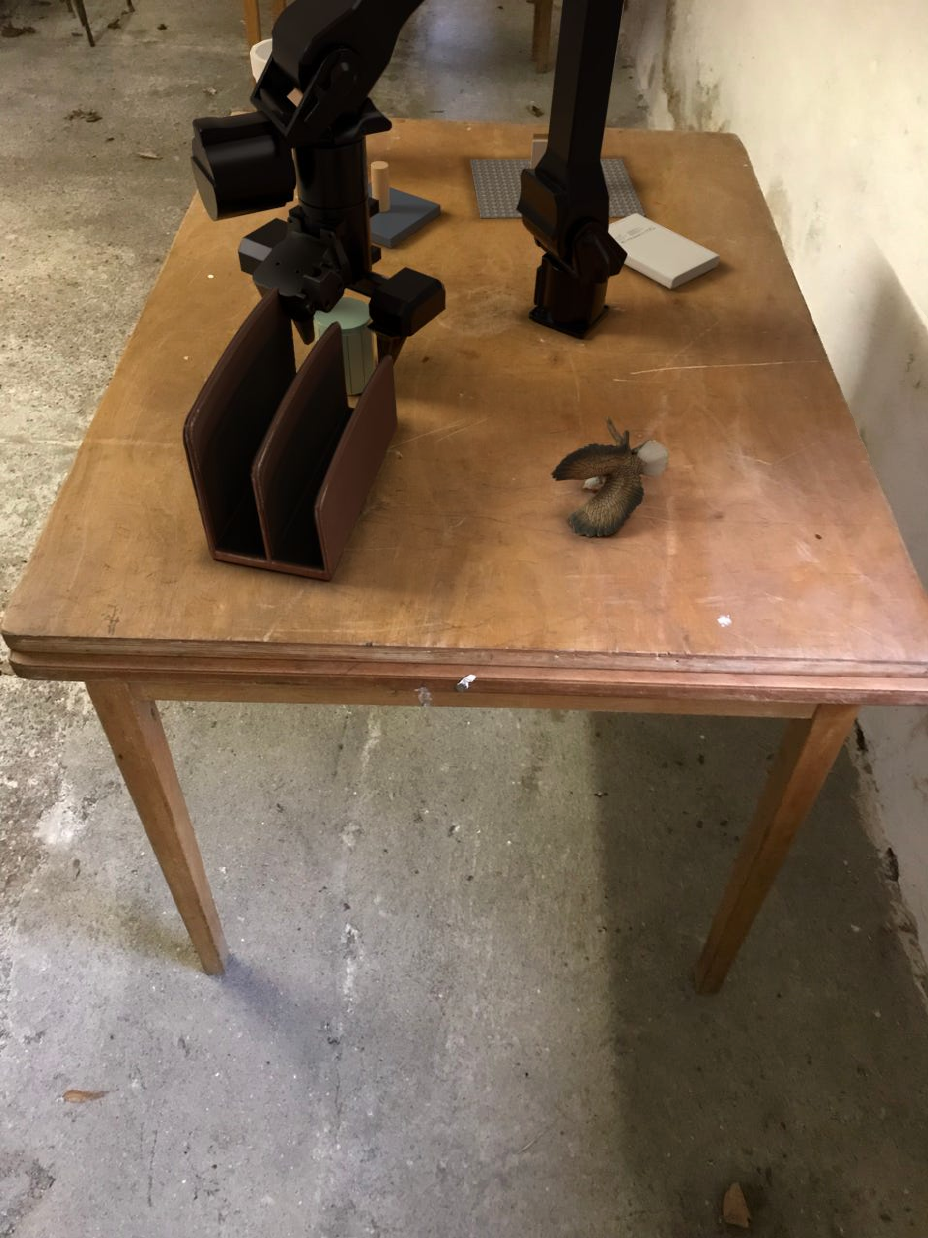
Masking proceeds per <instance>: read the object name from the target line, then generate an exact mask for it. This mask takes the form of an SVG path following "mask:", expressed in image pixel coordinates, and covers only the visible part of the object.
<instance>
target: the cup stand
mask: <svg viewBox="0 0 928 1238" xmlns="http://www.w3.org/2000/svg"><path fill="white" fill-rule="evenodd" d="M370 176H371V182H368V188H369V197H371V198H374V199H377V200H379V213H378V214H376V215H374V216H373V217H371V218H370V227H371V243H375V244H377V245H381V246H383V247H385V248H389V249H393V248H394V247H396V246H397V245H399V244H400V243H401V242H402V241H404V240H406V239H407V238H409V237H410V236H412V235H413V234H415V233H416V232H417V231H419V230H420V229H422V228H424V226H426V225H427V224H429V223H430V222H432V221H433V220H435V219H436V218H437V217H439V216H440V215H441V214H442V213H441V211H442V210H441V207H442V206H441V204H440V203H437V202H434V201H431V200H428V199H425V198H422V197H419V196H417V195H414V194H411V193H409V192H406V191H403V190H400V189H397V188H395V187H391V186H390V168H389V163H388V162H386V161H382V160H377V161H373V162H371V164H370Z"/></svg>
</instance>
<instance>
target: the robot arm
mask: <svg viewBox="0 0 928 1238" xmlns="http://www.w3.org/2000/svg"><path fill="white" fill-rule="evenodd" d="M425 1H426V0H294V1H293V2H291V3H290V4H289V5H287V6H286V7H285V8H284V9H283V10H282V11H281V13H280V14H279V15H278V17H277V19H276V20H275V22H274V24H273V27H272V29H271V34H270V35H271V39H272V52H271V54H270V56H269V58H268V61H267V63H266V65H265V67H264V69H263V71H262V73H261V75H260V77H259V80H258V82H256V83H255V86H254V89H253V90H252V92H251V95H250V96H249V102H250V104H251V105H252V106H253V107H254V109H255V110H256V111H251V112H246V113H240V114H239V113H238V114H233V115H228V116H221V117H220V116H219V117H218V116H217V117H216V116H205V117H199V118H195V119H193V120H192V122H191V124H192V129H193V138H192V140H191V153H192V154H191V156H190V157H189V158H190V165H191V169H192V173H193V177H194V181H195V184H196V187H197V190H198V191H197V192H198V194H199V197H200V199H201V202H202V204H203V207H204V209H205V211H206V213H207V215H208V217H209V218H210V219H211V221H213V222H219V221H224V220H229V219H233V218H238V217H242V216H247V215H252V214H258V213H261V212H267V211H270V210H275V209H281V208H285V207H286V206H287V204H288V203H292V202H294V199H295V190H296V193H297V203H298V204H297V205H295V206H293V207H292V208H290V209H288V216H287V218H286V220H284V219H281V218H278V217H275V218H273V219H272V220H270V221H268V222H266V223H265V224H263V225H262V226H259V227H258V228H256V229H254V230H253V231H251V232H250V233H247V234H246V235H244V236H243V237H242V239H241V240H240V243H239V244H238V248H237V254H238V261H239V265H240V267H239V268H240V272H242V273H245V274H248V275H250V276H252V277H251V279H252V282H253V284H254V285H255V288H256V289H257V292H258V293H259V296H260V297H261V299H262V298H263V297H264V296H265V295H266V294H267V293H268V291H269V290H270V289H271V288H272V287H273V286H274V287H278V292H277V293H278V296H279V300H280V303H281V306H282V309H283V312H284V315H285V316H287V317H290V318H291V321H292V324H293V325H294V328H295V329H296V331H297V333H298V335H299V337H300V339H301V341H302V343H303V345H305V346H310V345H312V344H313V343H314V342H315V331H314V322H313V321H314V315H315V314H316V311H322V312H324V313H329V312H331V311H332V309H333V308H334V307H335V305H336V304H337V303H338V301H339V300H340V299H341V298H342V297H344V295H345V291H346V290H349V291H351V292H354V293H357V294H359V295H362V296H364V297H366V298H370V300H369V302H368V303H367V304H368V305H369V316H370V318H371V319H372V321H373V322H371V323H370V324H369V325H367V328H368V329H369V330H371V331H372V332H374V335H375V336H376V337H375V339H376V355H377V365H378V364H379V363H380V361H381V359H382V358H383V356H384V355H391V357H392V360H393V367H394V366H395V364H396V363H397V360H398V358H399V356H400V353H401V351H402V349H403V347H404V344H405V343H406V341H407V339H408V338H410V337H413V336H414V335H415V334H416V333H418V332H419V331H420V330H421V329H423V328H424V327H425V326H426V325H428V324H429V323H431V321H432V320H433V319H435V318H436V317H437V316H439V315H440V314H441V313H442V312H444V311H445V310H446V303H447V302H446V301H447V300H446V298H447V297H446V296H447V294H446V293H447V291H446V287H445V284H444V283H443V282H442V281H441V280H440V279H438V278H437V277H433V276H431V275H428V274H426V273H423V272H420V271H417V270H415V269H413V268H410V267H407V266H405V267H403V268H402V269H400V270H399V271H398V272H396V273H395V274H393V275H392V276H391V277H389V276H386V275H383V274H381V273H378V272H376V271H373V265H375V264H377V263H378V262H379V261H381V260H382V247H381V246H380V247H379V246H377V245H374V244H372V241H371V227H370V218H371V217H373V216H374V215H376V214H378V213H379V200H377V199H374V198H371V197H369V188H368V184H369V172H368V168H369V167H368V151H367V150H368V149H367V136H371V135H374V134H375V135H376V134H381V133H386V132H389V131H391V130H392V129H393V123H392V120H390V119H389V118H388V117H387V116H386V115H385V114H384V113H383V112H382V111H380V110H379V109H378V108H377V106H376V105H375V103H374V101H373V100H372V98H371V97H370V96H369V95H370V94H371V92H372V91H373V89H374V87H375V86H376V84H377V83H378V82H379V80H380V78H381V77H382V76H383V74H384V73H385V71H386V70H387V68H388V67H389V65H390V63H391V61H392V58H393V54H394V52H395V48H396V46H397V43H398V39H399V37H400V33H401V32H402V30H403V29H404V27H405V26H406V24H407V23H408V21H409V20H410V18H411V17H412V15H413V14H414V13H415V12H416V11H417V10H418V9H419V8H420V7H421V6H422V5H423V3H424V2H425ZM624 6H625V0H562V3H561V13H560V15H561V16H560V22H559V31H558V40H557V49H556V60H555V67H554V79H553V87H552V97H551V105H550V115H549V117H550V118H549V122H548V123H549V125H548V132H547V133H548V139H547V140H548V142H547V148H546V152H545V153H544V155H543V156H542V158H541V159H540V161H539V162H538V164H537V165H536V167H535V168H534V169H523V170H522V172H521V176H520V179H521V195H520V200H519V202H518V205H517V207H516V210H517V211H518V212H519V213H520V214H521V215H522V217H521V222H522V226H523V227H524V228H525V229H526V231H527V232H529V234H530V235H532V236H533V241H534V244H535V245H536V247H538V248H540V249H542V250H543V251H544V252H545V253H544V254H543V255H541V261H540V265H539V266H537V267H536V270H535V280H534V281H535V282H534V291H533V305H534V306H535V307H533V308H532V309H531V310H530V311H529V312H528V319H529V320H531V321H534V322H536V323H539V324H542V325H544V326H547V327H550V328H552V329H554V330H557V331H559V332H562V333H565V334H567V335H571V336H573V337H576V338H579V339H582V338H585V337H586V336H587V335H588V333H590V332H591V331H592V330H593V329H594V328H595V327H596V326H597V325H598V324H599V323H600V322H601V321H602V320H603V319H604V318H605V317H606V316H607V315H608V314H609V313H610V311H611V306H609V305H608V304H606V297H607V291H608V285H609V280H610V278H611V277H614V276H618V275H620V274H621V271H622V269H623V267H624V265H625V264H624V263H625V260H626V258H627V255H628V254H627V252H626V251H625V250H624V249H623V248H622V247H621V246H620V245H619V243H618V242H617V241H616V240H615V239H614V238H613V237H612V236H611V235H610V234H609V233H608V231H609V225H610V217H609V209H610V196H609V192H608V188H607V184H606V180H605V176H604V172H603V168H602V164H601V159H602V151H603V144H604V138H605V132H606V124H607V118H608V111H609V105H610V99H611V92H612V85H613V79H614V78H613V77H614V73H615V65H616V59H617V51H618V47H619V46H618V45H619V40H620V34H621V27H622V19H623V14H624ZM294 89H295V90H296V91H297V92H298V93H299V94H300V95H301V96H302V98H301V100H300V102H299V104H298V107H297V106H296V105H295V104H294V103H293V102H292V101H291V100H290V99H289V98H288V97H287V96H288V95H289V94H290V93H291V92H292V91H293V90H294ZM292 150H293V155H292ZM293 159H294V160H293Z"/></svg>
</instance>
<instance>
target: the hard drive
mask: <svg viewBox="0 0 928 1238" xmlns="http://www.w3.org/2000/svg"><path fill="white" fill-rule="evenodd" d="M608 233H609V234H610V235H611V236H612V237H613V238H614V239H615V240H616V241H617V242H618V243H619V245H620V246H621V247H622V248H623V249H624V250H625V251H626V252H627V254H628V255H627V258H626V260H625V263H624V265H626V266H627V267H629V268H631V269H633V270H635V271H637V272H639V273H640V274H642V275H644V276H646V277H647V278H649V279H651V280H653V281H655V282H656V283H658V284H659V285H662V286H664V287H665V288H667V289H669V290H671V291H672V290H675V289H677V288H679V287H681V286H683V285H685V284H687V283H689V282H691V281H693V280H695V279H696V278H698V277H700V276H702V275H704V274H706V273H708V272H711V271H712V270H714V269H716V268H717V267H718V265H719V262H720V260H721V259H720V258H721V255H720V254H718V253H717V252H714V251H712V250H710V249H708V248H706V247H704V246H702V245H700V244H698V243H697V242H694V241H692V240H691V239H689V238H686V237H685V236H683V235H681V234H679V233H677V232H675V231H672V230H670V229H668V228H666V227H665V226H662V225H661V224H659V223H657V222H655V221H653V220H650V219H649V218H647V217H646V216H641V215H639V214H637V213H635V214H632V215H630V216H628V217H624V218H623V217H622V219H619V220H616V221H614V222H612V223H609V231H608Z"/></svg>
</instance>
